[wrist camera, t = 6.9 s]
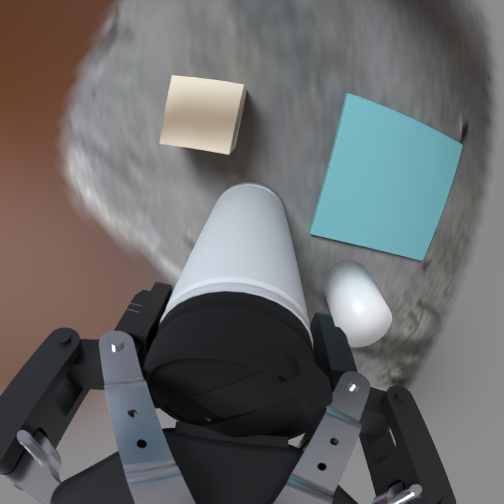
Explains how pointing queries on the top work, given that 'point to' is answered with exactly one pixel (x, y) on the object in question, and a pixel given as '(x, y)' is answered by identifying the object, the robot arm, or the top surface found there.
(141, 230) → the top surface
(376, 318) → the white plastic capsule
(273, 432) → the travel mug
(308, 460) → the robot arm
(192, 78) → the birch block
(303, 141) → the top surface
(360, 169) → the teal mat
